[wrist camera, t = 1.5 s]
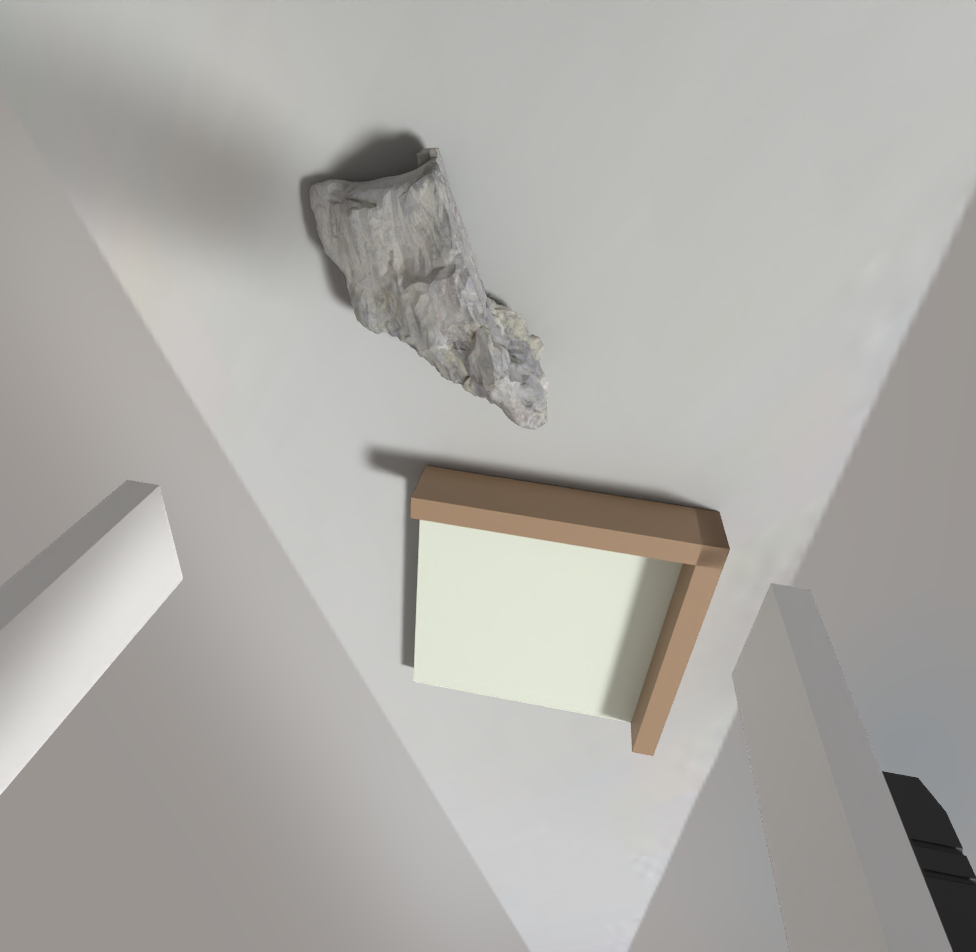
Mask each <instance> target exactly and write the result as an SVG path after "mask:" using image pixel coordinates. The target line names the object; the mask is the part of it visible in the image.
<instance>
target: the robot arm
mask: <svg viewBox="0 0 976 952" xmlns="http://www.w3.org/2000/svg"><path fill="white" fill-rule="evenodd" d="M182 579H183V577H182V573H181V569H180V565H179V561H178V557H177V553H176V549H175V545H174V541H173V537H172V533H171V529H170V525H169V521H168V517H167V513H166V509H165V505H164V502H163V497H162V494H161V490H160V486H159V485H154V484H148V483H142V482H135V481H129V480H127V481H125V482H124V483H123V484H122V485H121V486H120V487H118V488H117V489H116V490H115V491H113V492H112V493H111V494H110V495H109V496H108V497H106V498H105V499H104V500H103V501H102V502H100V503H99V504H98V505H97V506H96V507H95V508H93V509H92V510H91V511H90V512H88V513H87V514H86V515H85V516H84V517H83V518H81V519H80V520H79V521H78V522H77V523H75V524H74V525H73V526H72V527H71V528H70V529H68V530H67V531H66V532H65V533H63V534H62V535H61V536H60V537H59V538H58V539H56V540H55V541H54V542H53V543H52V544H50V545H49V546H48V547H47V548H46V549H44V550H43V551H42V552H41V553H40V554H39V555H37V556H36V557H35V558H34V559H33V560H31V561H30V562H29V563H28V564H27V565H26V566H24V567H23V568H22V569H21V570H20V571H18V572H17V573H16V574H15V575H14V576H12V577H11V578H10V579H9V580H8V581H6V582H5V583H4V584H3V585H2V586H1V587H0V795H1V794H2V792H3V791H4V790H5V789H6V788H7V786H8V785H9V784H10V783H11V782H12V781H13V779H14V778H15V777H16V776H17V775H18V773H19V772H20V771H21V770H22V768H24V766H25V765H26V764H27V763H28V762H29V760H30V759H31V758H32V757H33V756H34V754H35V753H36V752H37V751H38V750H39V749H40V747H41V746H42V745H43V744H44V743H45V741H46V740H47V739H48V738H49V737H50V736H51V734H52V733H53V732H54V731H55V730H56V728H57V727H58V726H59V725H60V724H61V723H62V721H63V720H64V719H65V718H66V717H67V715H68V714H69V713H70V712H71V711H72V710H73V708H74V707H75V706H76V705H77V703H78V702H79V701H80V700H81V699H82V698H83V696H84V695H85V694H86V693H87V692H88V691H89V689H90V688H91V687H92V686H93V685H94V683H95V682H96V681H97V680H98V679H99V678H100V676H101V675H102V674H103V673H104V672H105V671H106V669H107V668H108V667H109V665H111V663H112V662H113V661H114V660H115V659H116V658H117V656H118V655H119V654H120V653H121V652H122V650H123V649H124V648H125V647H126V646H127V644H128V643H129V642H130V641H131V640H132V638H133V637H134V636H135V635H136V634H137V633H138V631H139V630H140V629H141V628H142V627H143V626H144V624H145V623H146V622H147V621H148V620H149V618H150V617H151V616H152V615H153V614H154V613H155V611H156V610H157V609H158V608H159V607H160V605H161V604H162V603H163V602H164V601H165V600H166V598H167V597H168V596H169V595H170V594H171V592H172V591H173V590H174V589H175V588H176V586H177V585H178V584H179V583H180V582H181V581H182ZM732 678H733V682H734V687H735V692H736V697H737V702H738V707H739V712H740V716H741V721H742V726H743V731H744V736H745V741H746V745H747V750H748V755H749V760H750V765H751V769H752V774H753V779H754V784H755V789H756V794H757V799H758V803H759V808H760V813H761V818H762V823H763V827H764V833H765V837H766V842H767V847H768V852H769V857H770V861H771V866H772V871H773V876H774V880H775V886H776V891H777V895H778V900H779V905H780V910H781V915H782V920H783V925H784V929H785V934H786V939H787V944H788V949H789V952H976V876H975V874H974V872H973V870H972V867H971V866H970V863H969V861H968V859H967V857H966V856H964V855H963V854H962V849H963V848H962V846H961V843H960V841H959V839H958V837H957V835H956V833H955V830H954V828H953V826H952V824H951V822H950V820H949V817H948V815H947V813H946V811H945V810H944V809H943V808H942V806H941V805H940V804H939V803H938V802H937V800H936V799H935V798H934V797H933V796H932V794H931V793H930V792H929V791H928V789H927V788H926V787H925V786H924V785H923V783H922V782H921V781H920V780H919V779H918V778H916V777H910V776H905V775H899V774H894V773H889V772H883V771H881V768H880V765H879V763H878V760H877V758H876V755H875V753H874V750H873V748H872V745H871V742H870V740H869V737H868V735H867V732H866V730H865V728H864V725H863V722H862V720H861V717H860V715H859V712H858V709H857V707H856V705H855V702H854V699H853V697H852V694H851V692H850V689H849V687H848V684H847V682H846V679H845V676H844V674H843V671H842V669H841V666H840V664H839V661H838V659H837V656H836V654H835V651H834V649H833V646H832V643H831V641H830V638H829V636H828V633H827V631H826V628H825V626H824V623H823V620H822V618H821V615H820V613H819V610H818V608H817V605H816V603H815V601H814V598H813V595H812V593H811V590H809V589H802V588H796V587H790V586H784V585H778V584H772V583H771V585H770V587H769V589H768V592H767V594H766V596H765V599H764V601H763V603H762V606H761V608H760V610H759V613H758V615H757V617H756V620H755V622H754V624H753V627H752V629H751V631H750V634H749V636H748V638H747V641H746V643H745V645H744V647H743V650H742V652H741V654H740V657H739V659H738V661H737V664H736V666H735V668H734V671H733V673H732Z"/></svg>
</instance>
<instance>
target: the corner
mask: <svg viewBox="0 0 976 952" xmlns="http://www.w3.org/2000/svg"><path fill="white" fill-rule="evenodd" d="M410 518H413V519H419V520H420V525H419V551H418V577H417V602H416V628H415V654H414V680H413V682H417V683H423V684H428V685H433V686H439V687H444V688H449V689H455V690H460V691H465V692H471V693H476V694H481V695H486V696H492V697H497V698H502V699H508V700H513V701H518V702H524V703H529V704H534V705H540V706H545V707H550V708H556V709H561V710H566V711H571V712H577V713H582V714H587V715H593V716H598V717H603V718H609V719H614V720H619V721H625V722H630V723H631V736H632V752H636V753H641V754H646V755H651V756H653V755H654V752H655V749H656V747H657V744H658V741H659V739H660V736H661V733H662V731H663V728H664V725H665V722H666V720H667V717H668V714H669V712H670V709H671V706H672V704H673V701H674V698H675V696H676V693H677V690H678V688H679V685H680V682H681V679H682V677H683V674H684V671H685V669H686V666H687V663H688V661H689V658H690V655H691V653H692V650H693V647H694V644H695V642H696V639H697V636H698V634H699V631H700V628H701V626H702V623H703V620H704V618H705V615H706V612H707V610H708V607H709V604H710V601H711V599H712V596H713V593H714V591H715V588H716V585H717V583H718V580H719V577H720V575H721V572H722V569H723V566H724V564H725V561H726V558H727V556H728V553H729V550H730V548H729V545H728V541H727V537H726V534H725V530H724V527H723V523H722V520H721V516H720V512H717V511H710V510H704V509H698V508H691V507H685V506H679V505H672V504H666V503H660V502H653V501H647V500H641V499H634V498H628V497H622V496H616V495H609V494H603V493H597V492H590V491H584V490H578V489H571V488H565V487H559V486H552V485H546V484H540V483H533V482H527V481H521V480H514V479H508V478H502V477H495V476H489V475H483V474H477V473H470V472H464V471H458V470H451V469H445V468H439V467H432V466H426V467H425V469H424V471H423V473H422V475H421V477H420V480H419V482H418V484H417V486H416V488H415V490H414V492H413V494H412V496H411V516H410Z"/></svg>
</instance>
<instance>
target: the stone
mask: <svg viewBox="0 0 976 952" xmlns="http://www.w3.org/2000/svg"><path fill="white" fill-rule="evenodd" d="M416 157H417V163H418V168H417V169H415V170H413V171H410V172H407V173H404V174H401V175H397V176H388V177H383V178H379V179H375V180H371V181H367V182H350V181H346V180H340V179H331V180H326V181H324V182H319V183H314V184H312V186H311V187H310V188H309V201H310V207H311V209H312V212H313V214H314V216H315V220H316V224H317V233H318V236H319V238H320V240H321V242H322V244H323V251H324V253H325V254H326V255H328V256H329V258H330V259H331V260H332V261H333V263H335V264H336V265H337V266H338V268H339V269H340V270H341V271H342V273H343V274H344V276H345V277H346V284H347V289H348V293H349V296H350V300H351V303H352V306H353V307H354V309H355V310H354V312H355V315H356V318H357V320H358V321H359V322H360V323H361V324H362V325H363V326H364V327H366V328H367V329H369V330H371V331H373V332H374V333H376V334H380V333H385V332H386V333H389V334H390V335H391V336H398V338H399V339H400V341H403V342H405V343H407V344H408V345H410V346H411V347H412V348H414V349H415V350H416V351H417V353H418V354H419V356H421V357H424V358H425V359H426V360H427V361H428V362H429V363H430V364H431V365H433V366H435V367H436V369H437V371H438V372H440V374H441V376H442V377H444V378H445V379H447V380H451V381H453V382H454V383H455V384H457V383H460V384H461V385H462V387H463V388H464V389H465V391H468V392H470V393H472V394H473V395H474V396H479V397H482V398H487V400H488V401H489V402H490V403H494V404H496V405H497V406H499V407H500V408H501V409H502V410H503V412H504V413H505V414H506V416H507V417H508V418H509V419H510V420H511V421H513V422H514V423H515V424H517V425H519V426H521V427H524V428H529V429H537V428H538V427H540V426H542V425H543V424H545V423H546V422H547V417H546V415H547V398H546V395H547V392H546V391H545V389H546V388H547V385H548V380H547V378H546V376H545V374H544V372H543V371H542V369H541V367H540V363H539V360H540V356H541V354H542V351H543V347H544V346H543V344H542V342H541V340H540V338H539V337H537V336H534V335H532V334H530V333H528V332H527V331H526V328H525V320H524V318H523V316H522V315H520V314H518V313H516V312H514V311H512V310H511V309H510V308H509V307H508V306H502V305H498V304H496V302H495V301H494V300H492V299H490V298H488V297H487V295H486V293H485V290H484V286H483V283H482V280H481V279H480V277H479V274H478V272H477V268H476V260H475V255H474V254H473V252H472V249H471V246H470V243H469V239H468V237H467V234H466V232H465V229H464V226H463V223H462V220H461V217H460V214H459V212H458V209H457V206H456V203H455V201H454V198H453V196H452V194H451V191H450V188H449V185H448V181H447V176H446V173H445V169H444V165H443V161H442V158H441V155H440V152H439V149H438V148H427V149H424V150H422V151H420V152H418V153H417V154H416Z"/></svg>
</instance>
